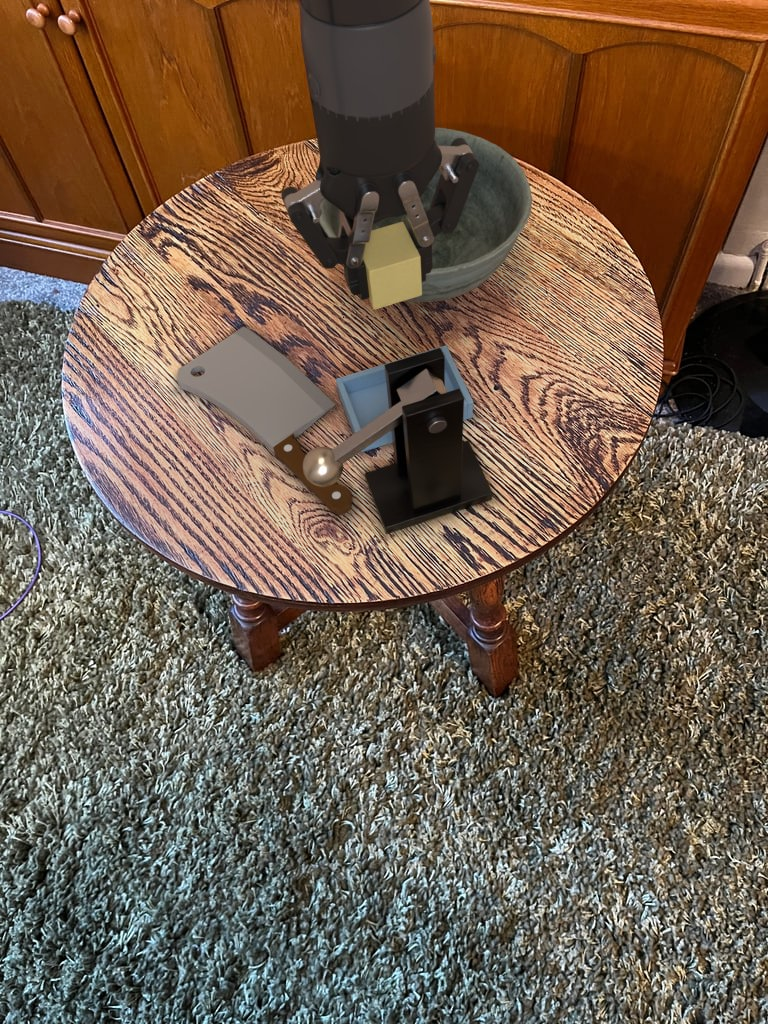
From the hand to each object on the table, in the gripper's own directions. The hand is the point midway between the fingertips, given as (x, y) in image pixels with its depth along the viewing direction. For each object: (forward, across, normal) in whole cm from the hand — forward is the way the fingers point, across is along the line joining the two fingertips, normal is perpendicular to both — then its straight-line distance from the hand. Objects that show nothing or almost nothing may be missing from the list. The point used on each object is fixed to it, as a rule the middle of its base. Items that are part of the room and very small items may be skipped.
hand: (389, 282), depth 60 cm
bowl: (+16, -8, -15) cm, 24 cm away
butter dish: (+16, 0, +1) cm, 16 cm away
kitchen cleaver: (+16, +11, -2) cm, 20 cm away
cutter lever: (+6, +4, +10) cm, 12 cm away
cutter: (+16, +1, +10) cm, 19 cm away
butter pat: (0, 0, 0) cm, 0 cm away
